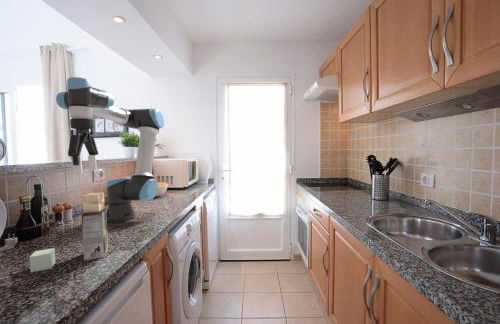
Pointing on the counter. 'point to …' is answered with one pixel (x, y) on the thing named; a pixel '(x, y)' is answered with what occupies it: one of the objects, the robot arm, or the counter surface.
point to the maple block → (93, 202)
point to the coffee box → (95, 234)
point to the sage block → (42, 260)
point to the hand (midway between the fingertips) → (86, 172)
